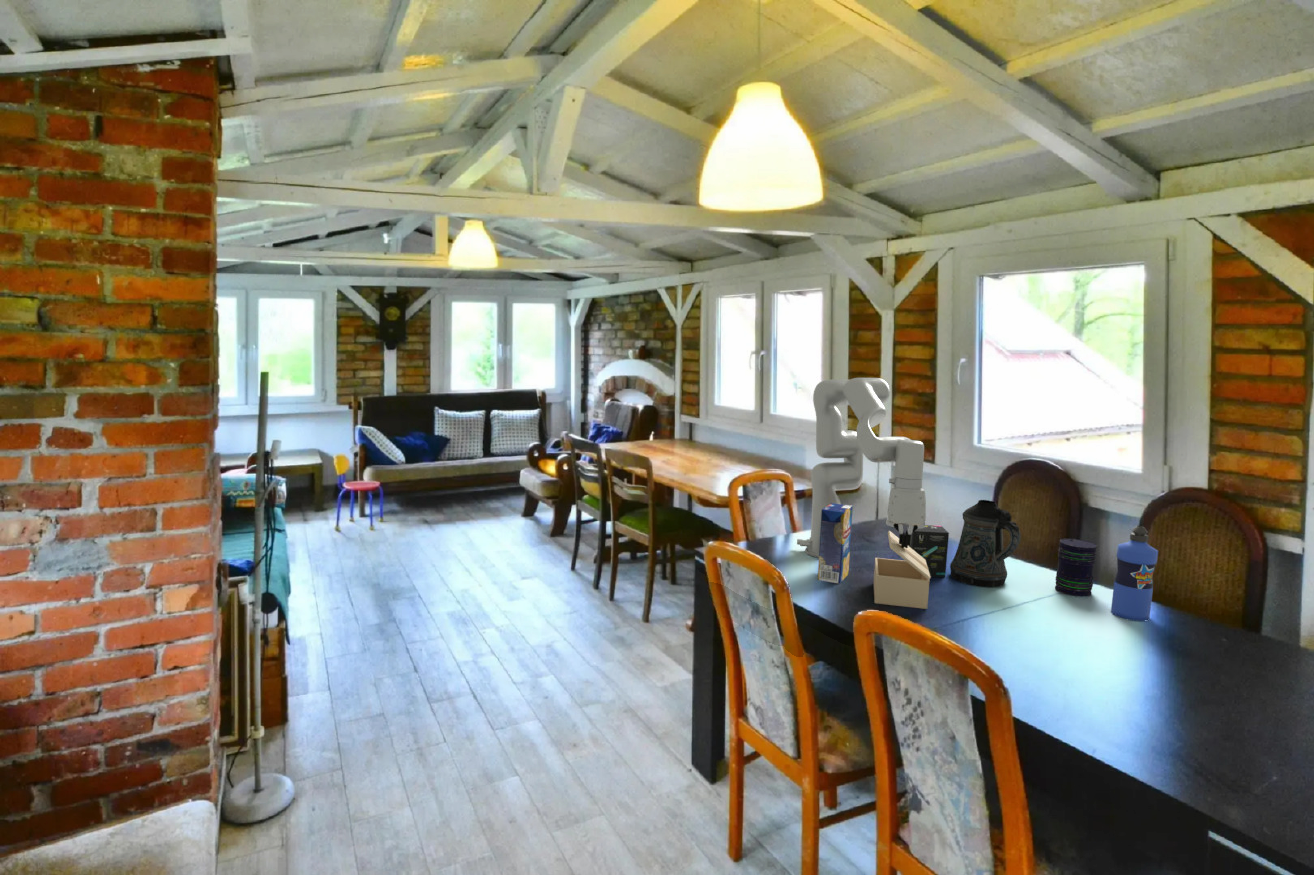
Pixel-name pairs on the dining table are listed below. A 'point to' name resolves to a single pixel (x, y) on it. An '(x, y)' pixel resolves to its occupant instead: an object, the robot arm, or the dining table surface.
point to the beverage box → (835, 542)
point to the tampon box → (931, 548)
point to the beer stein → (984, 546)
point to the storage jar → (1075, 567)
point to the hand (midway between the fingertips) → (904, 546)
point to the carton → (899, 584)
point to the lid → (909, 555)
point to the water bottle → (1134, 577)
